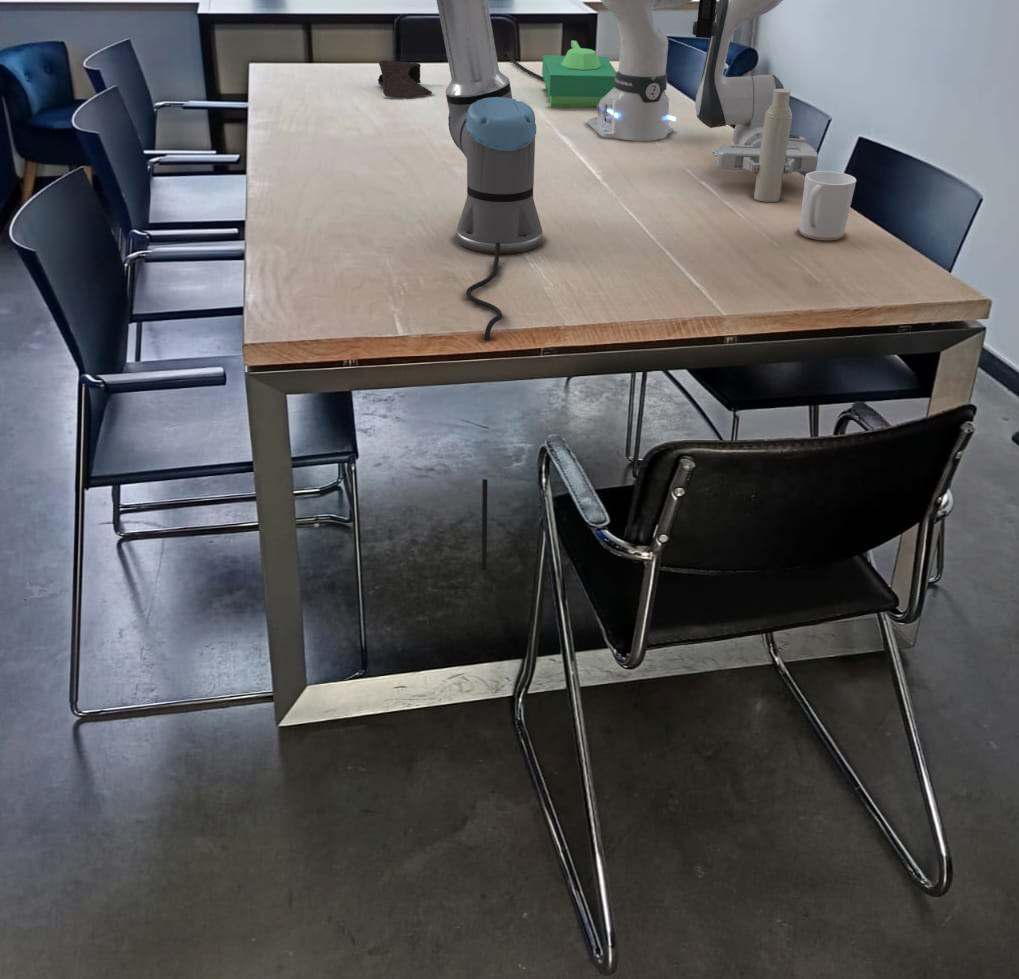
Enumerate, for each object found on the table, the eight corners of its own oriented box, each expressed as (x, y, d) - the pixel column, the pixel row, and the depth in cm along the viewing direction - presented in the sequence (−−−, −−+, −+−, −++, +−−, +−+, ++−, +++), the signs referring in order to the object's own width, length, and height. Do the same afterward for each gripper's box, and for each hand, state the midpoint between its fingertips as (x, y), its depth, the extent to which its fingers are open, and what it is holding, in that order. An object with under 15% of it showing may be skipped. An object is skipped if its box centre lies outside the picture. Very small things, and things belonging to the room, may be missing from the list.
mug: (809, 222, 208) (818, 168, 202) (854, 233, 203) (864, 177, 197) (782, 236, 200) (791, 180, 195) (827, 247, 195) (838, 190, 190)
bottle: (757, 202, 219) (772, 92, 208) (751, 194, 223) (765, 87, 212) (782, 202, 219) (799, 93, 208) (775, 194, 224) (791, 87, 213)
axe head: (443, 87, 294) (392, 77, 287) (436, 115, 299) (385, 106, 292) (421, 62, 307) (371, 52, 300) (414, 89, 311) (365, 80, 304)
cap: (717, 33, 200) (718, 21, 199) (715, 37, 196) (717, 25, 195) (693, 31, 200) (694, 20, 199) (691, 35, 197) (692, 24, 196)
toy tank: (603, 37, 308) (620, 60, 279) (600, 82, 315) (616, 110, 285) (541, 36, 308) (551, 59, 278) (539, 81, 314) (548, 109, 284)
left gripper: (739, -108, 178) (722, 44, 190) (744, -113, 193) (727, 29, 205) (693, -110, 180) (679, 41, 192) (701, -115, 194) (687, 26, 206)
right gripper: (713, 134, 228) (721, 151, 216) (811, 137, 227) (825, 154, 215) (709, 164, 231) (717, 183, 219) (806, 167, 230) (820, 186, 219)
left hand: (704, 35), depth 198 cm, fingers closed on cap, 4 cm apart
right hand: (772, 169), depth 217 cm, fingers closed on bottle, 5 cm apart
